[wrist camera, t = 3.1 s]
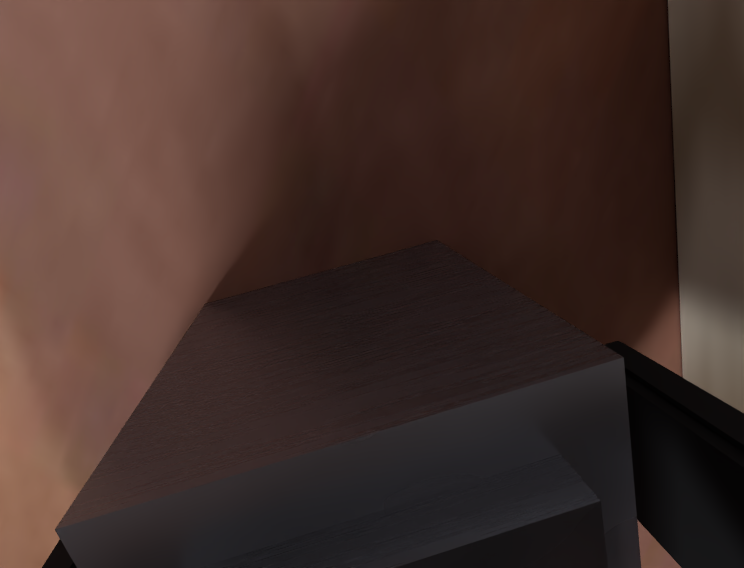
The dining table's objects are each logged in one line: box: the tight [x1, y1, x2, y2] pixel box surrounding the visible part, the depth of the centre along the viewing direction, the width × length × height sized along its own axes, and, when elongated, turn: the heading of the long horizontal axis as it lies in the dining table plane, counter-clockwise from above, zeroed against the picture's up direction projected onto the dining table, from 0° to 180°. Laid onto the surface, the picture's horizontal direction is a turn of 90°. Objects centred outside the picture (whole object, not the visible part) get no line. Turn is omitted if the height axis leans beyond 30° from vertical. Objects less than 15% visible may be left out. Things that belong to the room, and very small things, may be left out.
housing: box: [55, 240, 641, 568], centre depth 8 cm, size 8×5×7 cm, turn 14°
